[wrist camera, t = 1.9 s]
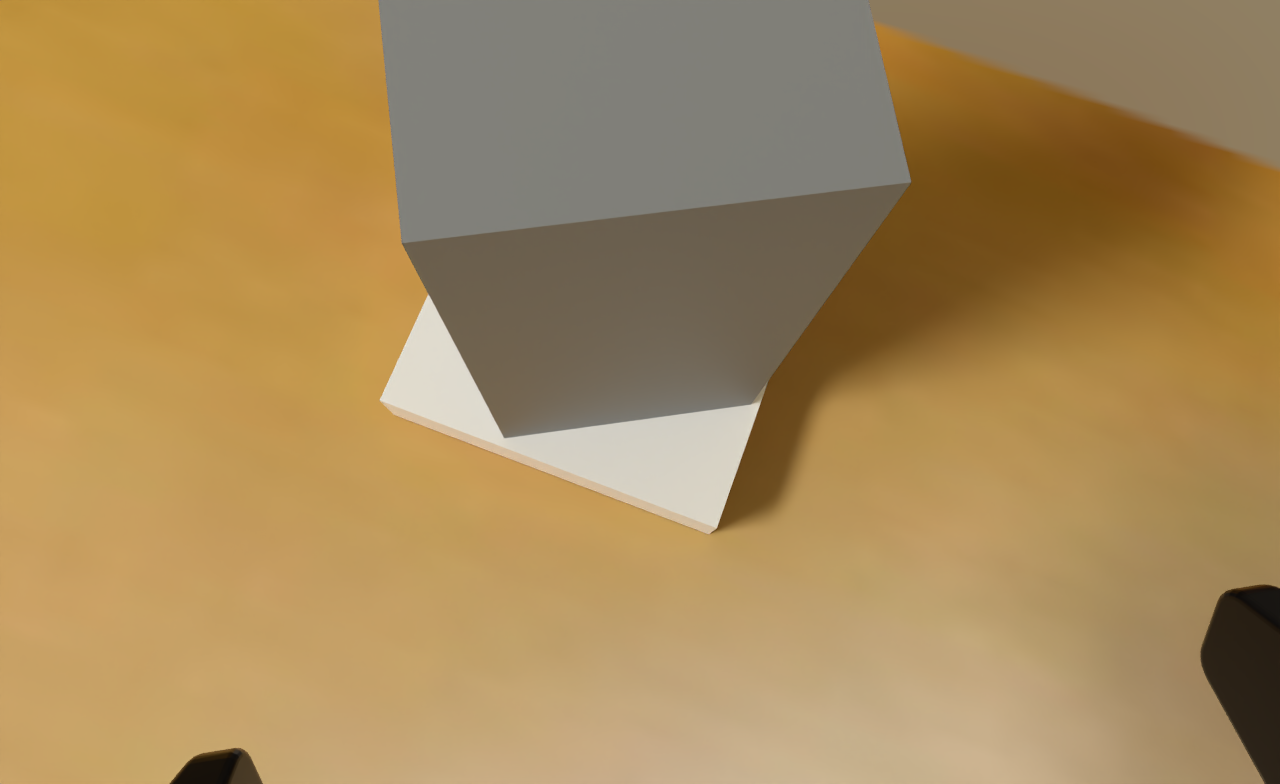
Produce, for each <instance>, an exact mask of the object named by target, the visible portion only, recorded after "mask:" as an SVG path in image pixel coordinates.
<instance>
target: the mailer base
mask: <svg viewBox="0 0 1280 784" xmlns="http://www.w3.org/2000/svg"><path fill="white" fill-rule="evenodd" d="M768 381H769V380H768ZM767 383H768V382H767ZM767 383H766V384H765V386H764V387H763V389H762V390H761V391H760V393H759V394H758V396H757V397H756V398H755V400H754V401H753V403H752V404H751V405H744V406H737V407H730V408H722V409H715V410H708V411H700V412H693V413H686V414H679V415H671V416H664V417H657V418H649V419H642V420H635V421H628V422H620V423H613V424H606V425H598V426H591V427H584V428H577V429H569V430H562V431H555V432H547V433H540V434H533V435H525V436H518V437H511V438H504V437H503V435H502V433H501V431H500V429H499V427H498V425H497V424H496V422H495V420H494V418H493V416H492V414H491V412H490V410H489V408H488V406H487V405H486V403H485V401H484V399H483V397H482V395H481V393H480V391H479V389H478V387H477V385H476V384H475V382H474V380H473V378H472V376H471V374H470V372H469V370H468V368H467V366H466V364H465V363H464V361H463V359H462V357H461V355H460V353H459V351H458V349H457V347H456V345H455V344H454V342H453V340H452V338H451V336H450V334H449V332H448V330H447V328H446V326H445V324H444V323H443V321H442V319H441V317H440V315H439V313H438V311H437V309H436V307H435V305H434V304H433V302H432V300H431V298H430V296H429V294H428V296H427V299H426V301H425V303H424V305H423V307H422V309H421V312H420V314H419V316H418V318H417V320H416V322H415V325H414V327H413V329H412V331H411V333H410V336H409V338H408V340H407V342H406V344H405V346H404V349H403V351H402V353H401V355H400V357H399V360H398V362H397V364H396V366H395V368H394V370H393V373H392V375H391V377H390V379H389V381H388V383H387V386H386V388H385V390H384V392H383V394H382V397H381V399H380V401H381V402H382V403H383V404H384V405H385V406H386V407H387V408H388V409H389V410H390V411H391V412H392V413H393V414H394V415H396V416H399V417H401V418H404V419H407V420H409V421H412V422H414V423H417V424H420V425H422V426H425V427H428V428H430V429H433V430H436V431H438V432H441V433H443V434H446V435H449V436H451V437H454V438H457V439H459V440H462V441H465V442H467V443H470V444H472V445H475V446H478V447H480V448H483V449H486V450H488V451H491V452H493V453H496V454H499V455H501V456H504V457H507V458H509V459H512V460H515V461H517V462H520V463H522V464H525V465H528V466H530V467H533V468H536V469H538V470H541V471H544V472H546V473H549V474H551V475H554V476H557V477H559V478H562V479H565V480H567V481H570V482H572V483H575V484H578V485H580V486H583V487H586V488H588V489H591V490H594V491H596V492H599V493H601V494H604V495H607V496H609V497H612V498H615V499H617V500H620V501H623V502H625V503H628V504H630V505H633V506H636V507H638V508H641V509H644V510H646V511H649V512H651V513H654V514H657V515H659V516H662V517H665V518H667V519H670V520H673V521H675V522H678V523H680V524H683V525H686V526H688V527H691V528H694V529H696V530H699V531H701V532H704V533H707V534H710V533H711V532H712V531H714V530H715V529H716V528H717V526H718V523H719V520H720V518H721V515H722V512H723V509H724V506H725V503H726V500H727V498H728V495H729V492H730V489H731V486H732V483H733V480H734V478H735V475H736V472H737V469H738V466H739V463H740V461H741V458H742V455H743V452H744V449H745V446H746V443H747V441H748V438H749V435H750V432H751V429H752V426H753V423H754V421H755V418H756V415H757V412H758V409H759V406H760V403H761V401H762V398H763V395H764V392H765V389H766V386H767Z"/></svg>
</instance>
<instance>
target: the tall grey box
mask: <svg viewBox="0 0 1280 784" xmlns="http://www.w3.org/2000/svg"><path fill="white" fill-rule="evenodd" d="M379 10H380V20H381V31H382V41H383V51H384V62H385V72H386V83H387V93H388V104H389V114H390V125H391V135H392V145H393V156H394V166H395V177H396V187H397V198H398V208H399V219H400V229H401V239H402V244H403V246H404V248H405V250H406V252H407V254H408V256H409V258H410V260H411V262H412V264H413V265H414V267H415V269H416V271H417V273H418V275H419V277H420V279H421V281H422V283H423V284H424V286H425V288H426V290H427V292H428V294H429V296H430V298H431V300H432V302H433V304H434V305H435V307H436V309H437V311H438V313H439V315H440V317H441V319H442V321H443V323H444V324H445V326H446V328H447V330H448V332H449V334H450V336H451V338H452V340H453V342H454V344H455V345H456V347H457V349H458V351H459V353H460V355H461V357H462V359H463V361H464V363H465V364H466V366H467V368H468V370H469V372H470V374H471V376H472V378H473V380H474V382H475V384H476V385H477V387H478V389H479V391H480V393H481V395H482V397H483V399H484V401H485V403H486V405H487V406H488V408H489V410H490V412H491V414H492V416H493V418H494V420H495V422H496V424H497V425H498V427H499V429H500V431H501V433H502V435H503V437H504V438H511V437H518V436H525V435H533V434H540V433H547V432H555V431H562V430H569V429H577V428H584V427H591V426H598V425H606V424H613V423H620V422H628V421H635V420H642V419H649V418H657V417H664V416H671V415H679V414H686V413H693V412H700V411H708V410H715V409H722V408H730V407H737V406H744V405H751V404H752V403H753V401H754V400H755V398H756V397H757V396H758V394H759V393H760V391H761V390H762V389H763V387H764V386H765V384H766V383H767V382H768V380H769V379H770V378H771V376H772V375H773V373H774V372H775V371H776V369H777V368H778V366H779V365H780V364H781V362H782V361H783V360H784V358H785V357H786V355H787V354H788V353H789V351H790V350H791V348H792V347H793V346H794V344H795V343H796V342H797V340H798V339H799V337H800V336H801V335H802V333H803V332H804V330H805V329H806V328H807V326H808V325H809V324H810V322H811V321H812V319H813V318H814V317H815V315H816V314H817V312H818V311H819V310H820V308H821V307H822V305H823V304H824V303H825V301H826V300H827V299H828V297H829V296H830V294H831V293H832V292H833V290H834V289H835V287H836V286H837V285H838V283H839V282H840V281H841V279H842V278H843V276H844V275H845V274H846V272H847V271H848V269H849V268H850V267H851V265H852V264H853V263H854V261H855V260H856V258H857V257H858V256H859V254H860V253H861V251H862V250H863V249H864V247H865V246H866V245H867V243H868V242H869V240H870V239H871V238H872V236H873V235H874V233H875V232H876V231H877V229H878V228H879V227H880V225H881V224H882V222H883V221H884V220H885V218H886V217H887V215H888V214H889V213H890V211H891V210H892V208H893V207H894V206H895V204H896V203H897V202H898V200H899V199H900V197H901V196H902V195H903V193H904V192H905V190H906V189H907V188H908V186H909V185H910V184H911V178H910V174H909V170H908V166H907V161H906V157H905V153H904V149H903V145H902V140H901V136H900V132H899V128H898V123H897V119H896V115H895V111H894V106H893V102H892V98H891V94H890V90H889V85H888V81H887V77H886V73H885V68H884V64H883V60H882V56H881V51H880V47H879V43H878V39H877V35H876V30H875V26H874V22H873V18H872V13H871V9H870V5H869V1H868V0H379Z"/></svg>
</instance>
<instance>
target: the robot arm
mask: <svg viewBox="0 0 1280 784" xmlns="http://www.w3.org/2000/svg"><path fill="white" fill-rule="evenodd" d="M1201 663H1202V667H1203V670H1204V673H1205V676H1206V678H1207V680H1208V682H1209V683H1210V685H1211V687H1212V689H1213V691H1214V692H1215V694H1216V696H1217V698H1218V700H1219V701H1220V703H1221V705H1222V707H1223V709H1224V711H1225V712H1226V714H1227V716H1228V718H1229V720H1230V721H1231V723H1232V725H1233V727H1234V729H1235V730H1236V732H1237V734H1238V736H1239V738H1240V740H1241V741H1242V743H1243V745H1244V747H1245V749H1246V750H1247V752H1248V754H1249V756H1250V758H1251V759H1252V761H1253V763H1254V765H1255V767H1256V769H1257V770H1258V772H1259V774H1260V776H1261V778H1262V779H1263V781H1264V783H1265V784H1280V588H1278V587H1275V586H1271V585H1255V586H1249V587H1243V588H1236V589H1231V590H1228V591H1226V592H1225V593H1223V594H1222V595H1221V596H1220V598H1219V600H1218V602H1217V604H1216V607H1215V610H1214V613H1213V616H1212V618H1211V621H1210V624H1209V627H1208V630H1207V633H1206V635H1205V638H1204V641H1203V644H1202V647H1201ZM170 784H263V783H262V781H261V779H260V777H259V774H258V772H257V770H256V768H255V766H254V764H253V761H252V759H251V757H250V756H249V754H248V753H247V752H246V751H245V750H243V749H241V748H233V749H226V750H220V751H214V752H208V753H203V754H199V755H197V756H195V757H193V758H192V759H191V760H190V761H188V762H187V763H186V765H185V766H184V767H183V768H182V769H181V770H180V772H179V773H178V774H177V775H176V777H175V778H174V779H173V780H172V781H171V783H170Z"/></svg>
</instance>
